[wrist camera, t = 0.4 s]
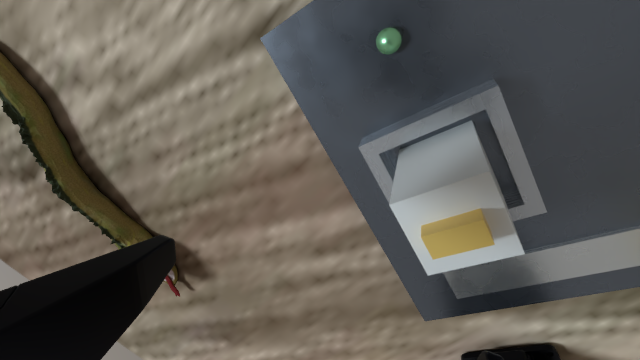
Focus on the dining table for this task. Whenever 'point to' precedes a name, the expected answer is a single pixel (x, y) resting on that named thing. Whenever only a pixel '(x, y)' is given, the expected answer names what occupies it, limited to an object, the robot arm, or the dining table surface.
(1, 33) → the dining table surface
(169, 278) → the toy
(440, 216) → the plug
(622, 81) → the panel
